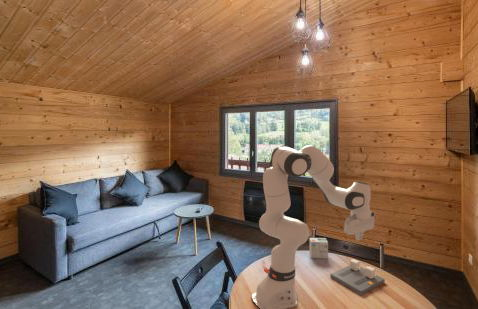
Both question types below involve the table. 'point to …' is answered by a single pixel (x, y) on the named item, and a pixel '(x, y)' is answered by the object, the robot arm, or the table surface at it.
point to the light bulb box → (318, 248)
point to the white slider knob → (354, 264)
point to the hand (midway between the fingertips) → (358, 239)
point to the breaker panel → (356, 279)
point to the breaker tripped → (370, 272)
